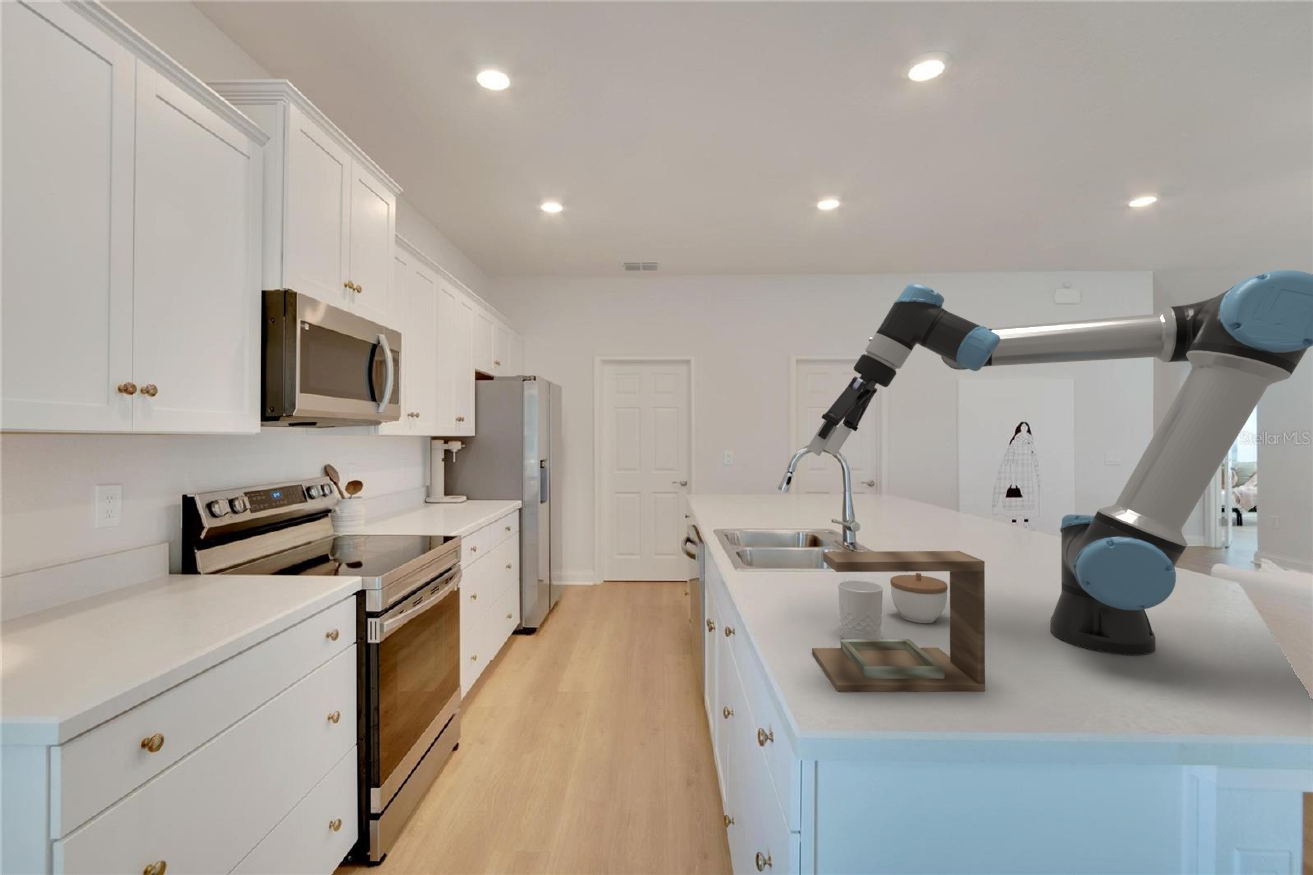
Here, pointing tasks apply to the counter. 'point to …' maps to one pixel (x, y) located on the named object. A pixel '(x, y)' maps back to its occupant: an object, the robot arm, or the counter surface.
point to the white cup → (860, 609)
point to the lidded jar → (919, 597)
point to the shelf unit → (901, 658)
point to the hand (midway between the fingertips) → (821, 452)
